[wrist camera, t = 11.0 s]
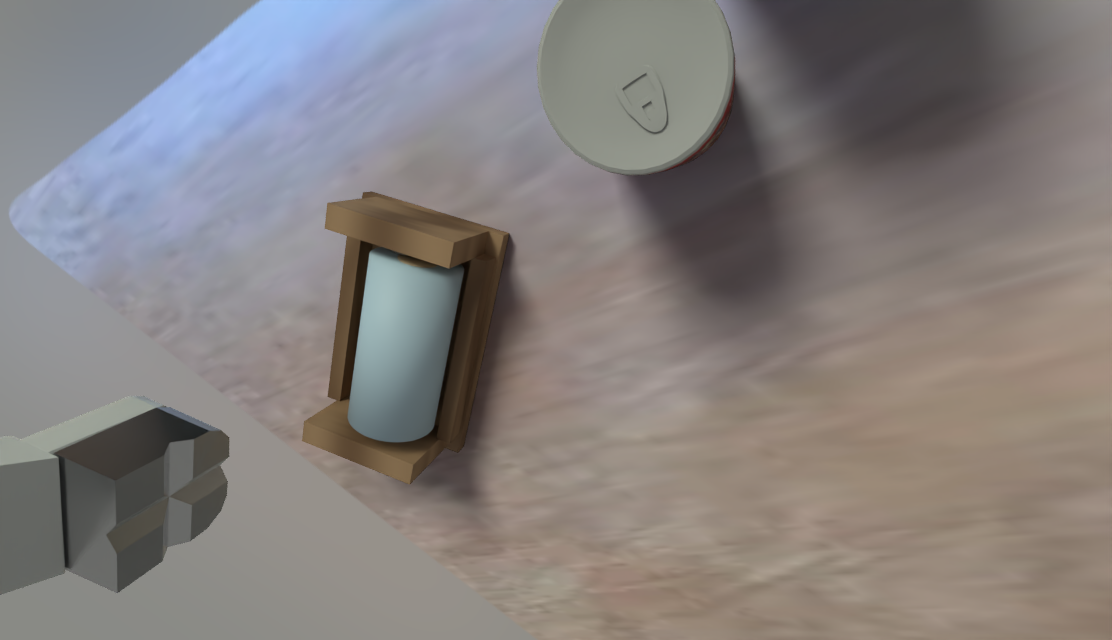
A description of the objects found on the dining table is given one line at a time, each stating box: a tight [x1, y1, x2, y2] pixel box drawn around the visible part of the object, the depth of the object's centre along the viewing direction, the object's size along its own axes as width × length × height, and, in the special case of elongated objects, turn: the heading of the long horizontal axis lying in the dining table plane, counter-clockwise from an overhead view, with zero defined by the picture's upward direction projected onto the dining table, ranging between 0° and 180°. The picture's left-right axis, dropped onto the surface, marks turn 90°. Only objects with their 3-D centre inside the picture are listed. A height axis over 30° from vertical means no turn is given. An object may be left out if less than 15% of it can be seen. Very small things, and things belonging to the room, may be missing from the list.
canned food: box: [537, 0, 735, 175], centre depth 28 cm, size 8×8×11 cm
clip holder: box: [302, 192, 509, 484], centre depth 38 cm, size 10×16×6 cm, turn 166°
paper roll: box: [348, 247, 464, 442], centre depth 37 cm, size 6×11×6 cm, turn 166°
